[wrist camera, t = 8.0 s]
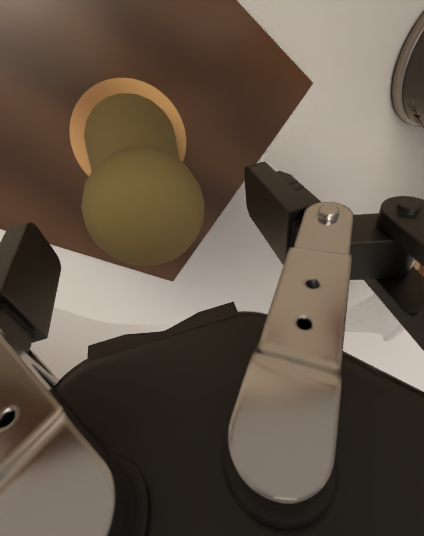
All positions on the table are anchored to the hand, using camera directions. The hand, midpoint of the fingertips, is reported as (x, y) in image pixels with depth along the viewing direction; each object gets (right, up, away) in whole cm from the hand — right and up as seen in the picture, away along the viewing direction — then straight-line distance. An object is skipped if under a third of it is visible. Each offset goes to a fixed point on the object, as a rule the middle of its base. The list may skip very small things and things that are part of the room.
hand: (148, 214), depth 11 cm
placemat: (-3, +6, +8) cm, 11 cm away
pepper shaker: (-3, +6, +8) cm, 11 cm away
